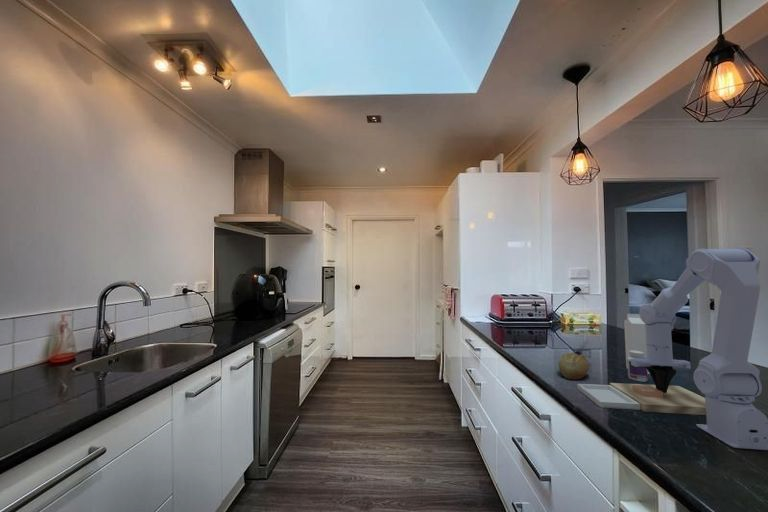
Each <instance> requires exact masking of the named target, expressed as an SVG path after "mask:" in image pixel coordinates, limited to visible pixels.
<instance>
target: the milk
mask: <svg viewBox="0 0 768 512" xmlns="http://www.w3.org/2000/svg"><path fill="white" fill-rule="evenodd" d="M623 327H624V343H625V344H624V345H625V347H624V348H625V363H626V364H625V365H626V369H627V370H628V364H627V358H628V357H630V354H629V351H640V352H643V353H644V357H643V358H647V347H646V330H645V323H644V322H643V321H642V320H641V318H640V314H639V313H627V314H626V318H625V319H624V321H623ZM647 372H648V370H647ZM648 374H649V375H650V373H649V372H648ZM649 375H648V376H649ZM650 376H651V375H650Z"/></svg>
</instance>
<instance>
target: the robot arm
mask: <svg viewBox="0 0 768 512" xmlns="http://www.w3.org/2000/svg"><path fill="white" fill-rule="evenodd" d="M685 265H686V267H685V269H684V271H683V272H682V273H681V274H680V276H679V278H678V279H677V280H676V282H675V283H674V285H673V286H672V287H665V288H662V289H661V290H660V293H659V294H658V296H657V297H656V298H654V300H653V301H652V302H650V303H648V304H643V305H641V307H640V309H639V313H638V314H640V318H641V320H642V321H643V322H644V323H645V330H646V347H647V358H636V359H631V365H633V366H635V367H639V366H645V367H646V369H647V370H648V372H649V373H650V377H651V379H652V380H653V383H654V385H655V386H656V389H658V390H660V391H662V392H663V393H667V390H668V386H670V385H671V384H670V383H671V381H672V380H673V378H674V377H675V375H676V374H677V370H676V369H675V368H677V369H678V368H680V369H687V370H690V369H691V367H692V365H691V362H690V361H688V360H685V359H674V357H673V356H674V355H673V339H672V331H673V330H674V324H676V321H677V315H676V314H677V313H678V312H679V311H680V310H681V309H682V308H683V307H684V306H685V305H686V304H687V303H688V302H689V296H688V295H689V294H691V293H692V292H693V291H694V290H696V288H698V287H699V286H700V285H701V284H702V283H703V282H705V281H707V282H708V283H709V284H711V285H713V286H716V287H717V288H718V289H719V290H720V297H719V302H718V310H717V316H716V323H715V330H714V335H713V342H712V349H711V353H710V354H708V355H707V356H704V357H703V358H701V359H700V360H699V363H698V366H697V368H696V369H695V370H694V372H693V382H694V383H695V386H696V387H697V389H698V390H699V391H700V393H701V394H703V395H704V398H705V404H706V415H705V417H706V424H702V423H700V424H698V423H696V427H697V428H699V429H700V430H702V431H704V432H705V433H708V434H709V435H711V436H713V437H714V438H716V439H718V440H720V441H721V442H723V443H725V444H726V445H728V446H730V447H731V448H735V449H746V450H748V449H750V450H761V451H768V417H767V415H766V414H764V412H762V411H761V410H759V409H758V408H756V407H755V406H754V405H753V402H756V400H755V397H758V396H760V395H761V394H762V391H763V390H762V389H763V387H762V386H763V385H762V383H761V379H760V373H761V371H760V369H758V368H757V367H756V366H755V365H754V364H752V363H751V362H749V361H748V359H749V354H750V348H751V341H752V337H753V331H754V326H755V321H756V320H755V319H756V314H757V308H758V304H759V298H760V292H761V283H760V279H759V271H760V265H761V259H760V258H759V257H758V256H757V255H755V254H754V252H753V251H751V250H750V249H747V248H744V247H736V248H697V249H695V250H693V251H692V252H691V253H690V255H689V256H688V257H687V258H686V260H685Z"/></svg>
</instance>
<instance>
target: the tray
mask: <svg viewBox="0 0 768 512" xmlns="http://www.w3.org/2000/svg"><path fill="white" fill-rule="evenodd" d="M576 385H577V386H576V388H577V390H578V391H579V392H581V393H582V394H583V395H584V396H586V397H587V398H588V399H589V400H591V401H592V402H593V403H594V404H596V405H597V406H598V407H600V408H602V409H616V410H618V409H619V410H632V411H633V410H637V411H639V410H641V409H640V404H639V403H638V402H636V401H634V400H633V399H631V398H630V397H628V396H627V395H625V394H623V393H622V392H620V391H619V390H617V389H616V388H614V387H612V386H611V385H610V384H592V383H590V384H589V383H588V384H587V383H577V384H576Z"/></svg>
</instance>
